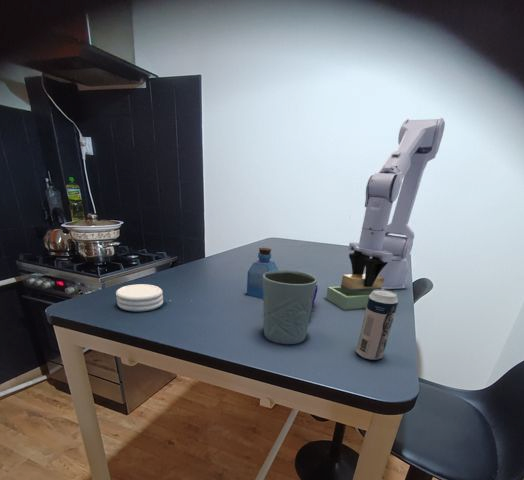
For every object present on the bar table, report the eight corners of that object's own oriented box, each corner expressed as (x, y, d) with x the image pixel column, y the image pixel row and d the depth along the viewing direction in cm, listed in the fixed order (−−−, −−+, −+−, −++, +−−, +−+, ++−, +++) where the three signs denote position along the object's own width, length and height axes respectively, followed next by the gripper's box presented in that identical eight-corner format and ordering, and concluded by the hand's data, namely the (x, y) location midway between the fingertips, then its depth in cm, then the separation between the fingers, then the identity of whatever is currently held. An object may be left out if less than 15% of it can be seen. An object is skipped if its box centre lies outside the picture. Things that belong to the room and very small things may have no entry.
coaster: (146, 294, 80) (144, 281, 78) (172, 304, 75) (171, 290, 73) (108, 304, 73) (106, 289, 71) (135, 316, 68) (133, 300, 66)
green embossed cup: (307, 349, 59) (316, 286, 54) (254, 341, 61) (258, 280, 55) (309, 328, 68) (317, 272, 63) (263, 322, 69) (267, 267, 64)
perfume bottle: (276, 293, 88) (280, 248, 82) (267, 299, 83) (270, 252, 77) (257, 289, 90) (259, 245, 85) (246, 294, 85) (248, 248, 80)
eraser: (370, 285, 88) (373, 273, 86) (381, 290, 84) (384, 277, 83) (340, 287, 84) (342, 274, 83) (350, 292, 81) (353, 279, 79)
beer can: (383, 363, 56) (402, 299, 51) (356, 359, 57) (371, 295, 52) (380, 351, 61) (397, 290, 55) (355, 347, 61) (369, 287, 56)
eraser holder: (370, 295, 92) (372, 284, 91) (390, 305, 85) (393, 294, 84) (325, 298, 87) (327, 287, 85) (344, 309, 80) (346, 297, 78)
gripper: (343, 224, 82) (334, 276, 88) (381, 233, 70) (367, 292, 76) (365, 225, 84) (355, 275, 91) (405, 234, 72) (390, 291, 79)
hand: (362, 283), depth 84 cm, fingers closed on eraser, 4 cm apart
